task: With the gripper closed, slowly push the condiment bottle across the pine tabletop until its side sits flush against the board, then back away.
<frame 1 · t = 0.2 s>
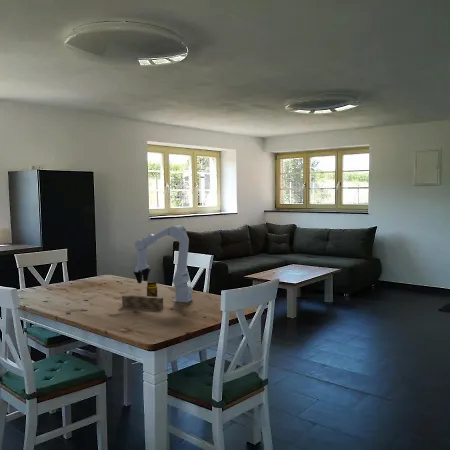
hand: (142, 281, 267), 10 cm above the table, tool pointing down, fingers open, 7 cm apart
board: (142, 307, 245), on the table
condiment: (150, 302, 257), on the table
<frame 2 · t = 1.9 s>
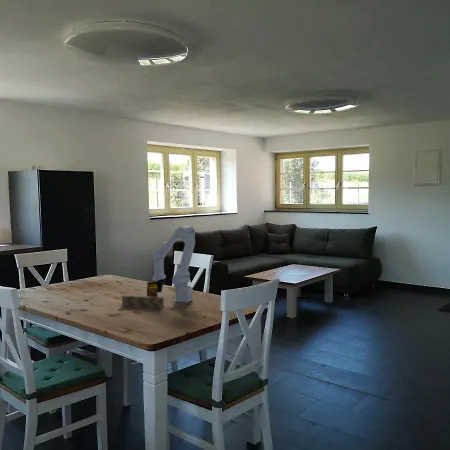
hand: (159, 292, 268), 3 cm above the table, tool pointing down, fingers closed
nothing on the table moved.
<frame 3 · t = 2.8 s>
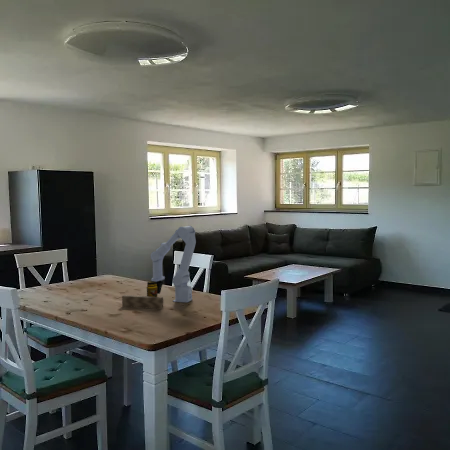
hand: (158, 293, 266), 3 cm above the table, tool pointing down, fingers closed
nothing on the table moved.
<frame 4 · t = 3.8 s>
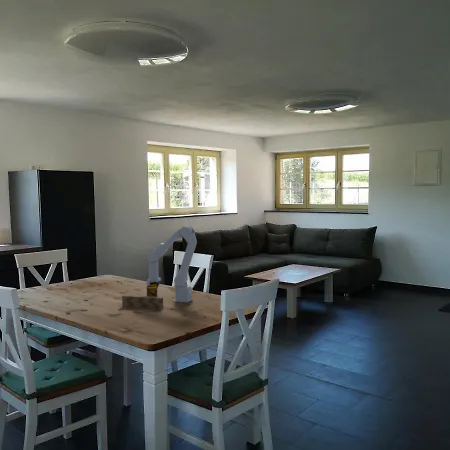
hand: (154, 295, 261), 3 cm above the table, tool pointing down, fingers closed, pressing on condiment
condiment: (150, 302, 257), on the table, touching gripper
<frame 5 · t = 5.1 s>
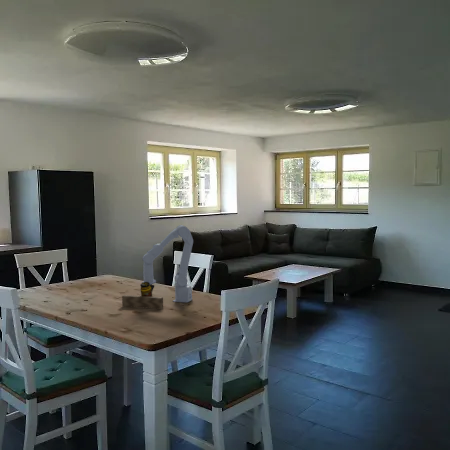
hand: (149, 297, 255), 3 cm above the table, tool pointing down, fingers closed, pressing on condiment
condiment: (146, 302, 252), point 1 cm above the table, touching gripper
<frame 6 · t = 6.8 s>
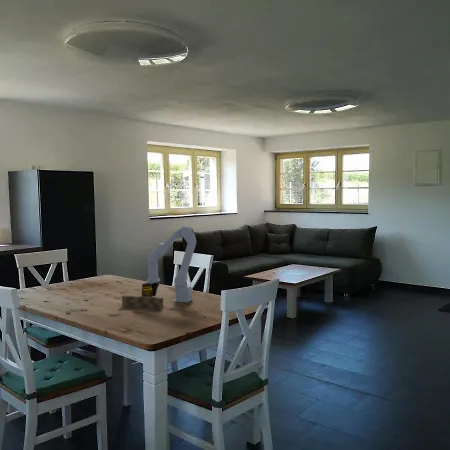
hand: (153, 295, 260), 3 cm above the table, tool pointing down, fingers closed
condiment: (145, 304, 252), on the table
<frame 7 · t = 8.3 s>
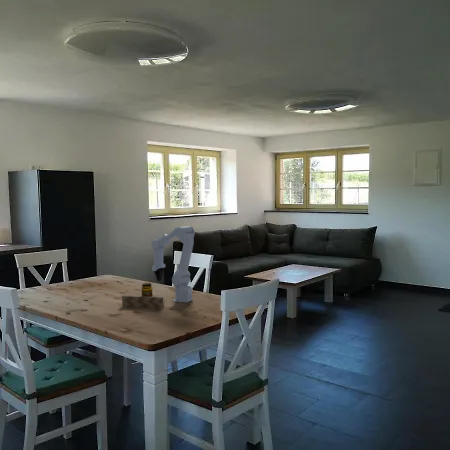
hand: (159, 280, 272), 9 cm above the table, tool pointing down, fingers closed
nothing on the table moved.
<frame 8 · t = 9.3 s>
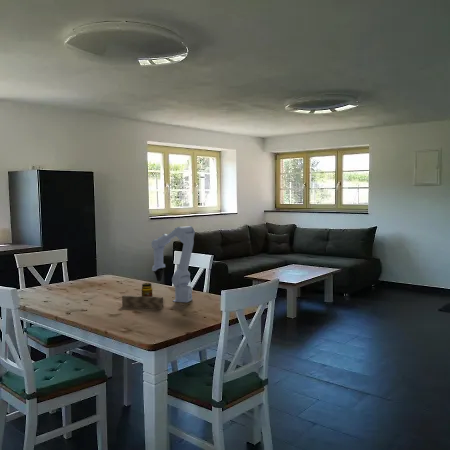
hand: (159, 280, 272), 9 cm above the table, tool pointing down, fingers closed
nothing on the table moved.
at the end: condiment 1.6 cm from the target spot on the table beside the board, on the table; condiment tilted 0° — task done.
